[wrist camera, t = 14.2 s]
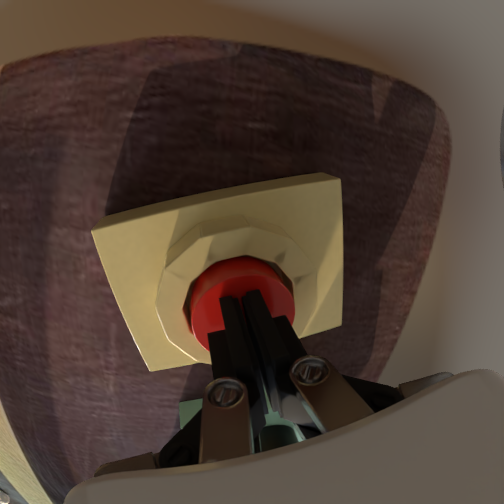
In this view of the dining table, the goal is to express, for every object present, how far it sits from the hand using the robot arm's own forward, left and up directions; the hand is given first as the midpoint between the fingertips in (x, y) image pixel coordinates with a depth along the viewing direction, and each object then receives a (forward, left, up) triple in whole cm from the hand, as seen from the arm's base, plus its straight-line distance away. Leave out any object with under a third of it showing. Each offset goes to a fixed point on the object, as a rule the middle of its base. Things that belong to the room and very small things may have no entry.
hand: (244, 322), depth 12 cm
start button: (0, 0, -2) cm, 2 cm away
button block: (0, 0, -5) cm, 5 cm away
